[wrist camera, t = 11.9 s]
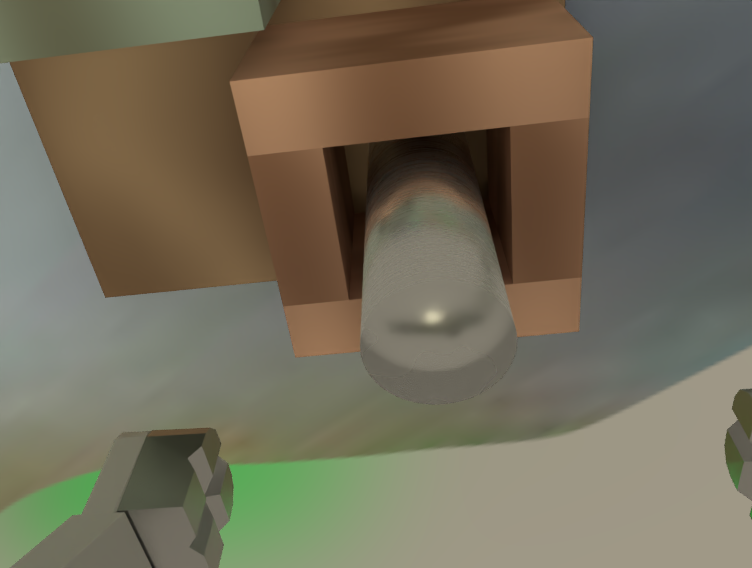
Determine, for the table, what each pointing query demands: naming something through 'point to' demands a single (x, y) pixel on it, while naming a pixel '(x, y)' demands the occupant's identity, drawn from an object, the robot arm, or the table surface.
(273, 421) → the table surface
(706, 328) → the table surface
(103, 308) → the table surface
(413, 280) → the metal pin
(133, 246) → the dock board
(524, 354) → the table surface
